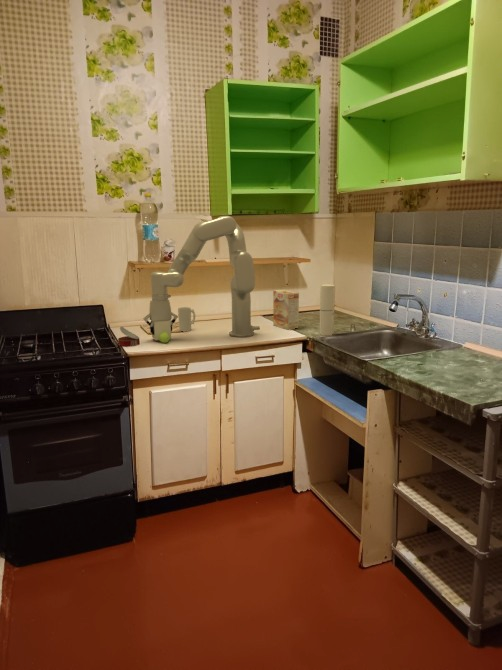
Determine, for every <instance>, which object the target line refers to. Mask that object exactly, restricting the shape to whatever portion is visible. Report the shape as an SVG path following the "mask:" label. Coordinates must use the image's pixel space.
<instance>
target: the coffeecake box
mask: <svg viewBox="0 0 502 670" xmlns="http://www.w3.org/2000/svg"><path fill="white" fill-rule="evenodd" d="M272 294H273V299H272V300H273V301H272V303H273V307H272V308H273V311H272V312H273V320H272V321H273V326H275V327H278V328H281V329H283V330H287V329H288V330H287V331H290V330H289V329H292V330H296V329H295V328H298V329H299V315H300V314H299V311H300V310H299V303H300V300H299V298H300V293H299V292H295V291H292V290H287V289H274V290H273V293H272Z"/></svg>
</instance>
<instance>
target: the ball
mask: <svg viewBox="0 0 502 670" xmlns="http://www.w3.org/2000/svg"><path fill="white" fill-rule="evenodd" d="M170 340H171V339H170V336H169V334H168V333H166V332H163V333H161V334H160V336H159V340H158V341H159V342H161V343H163V344H166V343H168V342H169V341H170Z"/></svg>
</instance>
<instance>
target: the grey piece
mask: <svg viewBox="0 0 502 670" xmlns="http://www.w3.org/2000/svg"><path fill="white" fill-rule="evenodd" d="M153 327H154V335H152V334H151V336H152V338H153V339H154V340H155V341H160V340H159V336H160V334H161V333H163V332H166V333H168V334H169V336H170V339H169V340H171V339H172V331H171V323H170V320H167V321H155V322H154V325H153Z"/></svg>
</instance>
